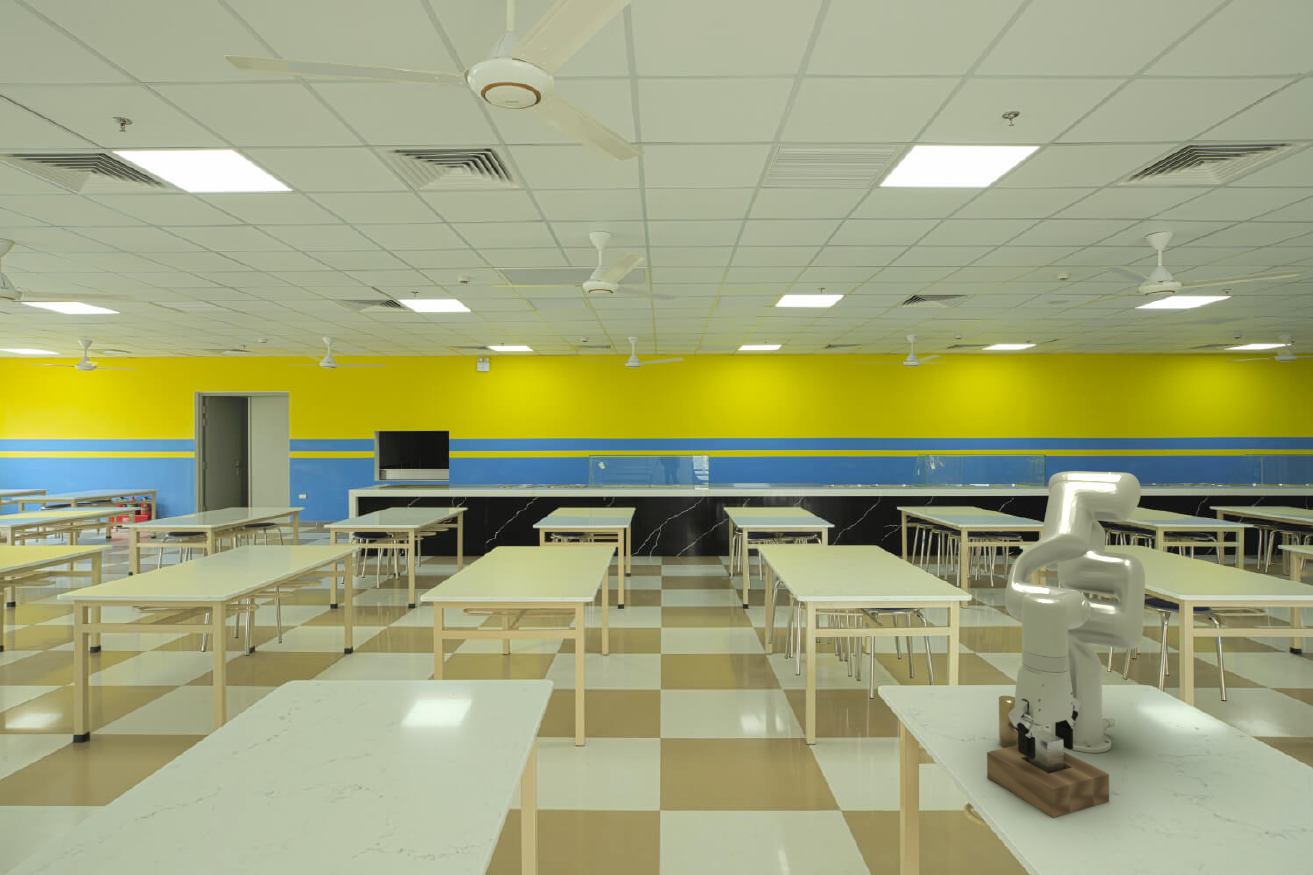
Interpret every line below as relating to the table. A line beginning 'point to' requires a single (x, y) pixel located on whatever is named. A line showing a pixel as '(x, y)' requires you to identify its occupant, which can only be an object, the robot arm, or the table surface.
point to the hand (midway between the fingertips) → (1045, 750)
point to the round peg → (1006, 722)
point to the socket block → (1049, 782)
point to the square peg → (1048, 752)
